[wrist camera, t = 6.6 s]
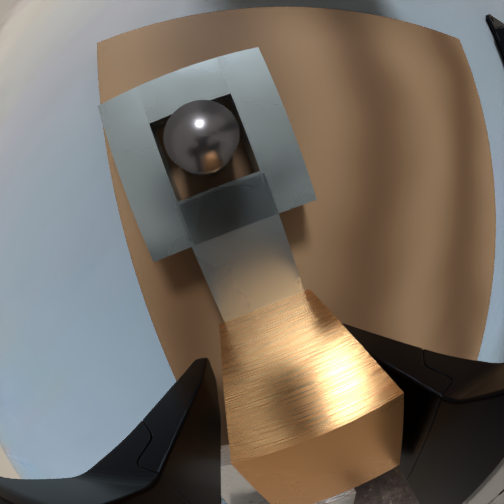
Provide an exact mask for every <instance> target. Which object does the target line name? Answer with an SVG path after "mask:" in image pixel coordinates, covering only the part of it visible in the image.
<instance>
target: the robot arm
mask: <svg viewBox="0 0 504 504" xmlns="http://www.w3.org/2000/svg"><path fill="white" fill-rule="evenodd" d="M486 18H487V20H488V23H489V25H490V27H491V29H492V31H493V33H494V35H495V38H496V40H497V42H498V45H499V47H500V49H501V52H502V55H503V57H504V24H503V23H502V22H500V21H499V20H497V19H496V18H494V17H493V16H491V15H490V14H488V15H486ZM343 326H344V327H345V328H346V329H347V330H348V331H349V332H350V333H351V334H352V335H353V337H354V338H355V339H356V340H357V341H358V342H359V343H360V344H361V345H362V346H363V348H364V349H365V350H366V351H367V352H368V353H369V354H370V355H371V356H372V358H373V359H374V360H375V361H376V362H377V363H378V364H379V365H380V366H381V368H382V369H383V370H384V371H385V372H386V373H387V374H388V375H389V377H390V378H391V379H392V380H393V381H394V382H395V383H396V384H397V386H398V387H399V388H400V389H401V390H402V391H403V392H404V415H403V434H402V447H401V457H400V465H398V467H399V469H400V471H401V472H402V474H403V476H404V477H405V479H406V480H407V483H408V485H409V486H410V488H411V490H412V491H413V493H414V495H415V496H416V498H417V500H418V502H419V503H420V504H504V363H488V362H482V361H476V360H470V359H464V358H459V357H454V356H449V355H445V354H441V353H437V352H433V351H430V350H426V349H422V348H420V347H416V346H413V345H410V344H406V343H403V342H400V341H397V340H393V339H390V338H387V337H384V336H381V335H378V334H375V333H371V332H368V331H365V330H362V329H359V328H356V327H353V326H350V325H347V324H343ZM0 504H221V416H220V407H219V399H218V391H217V383H216V378H215V375H214V372H213V369H212V367H211V364H210V361H209V359H208V358H200V359H196V360H195V361H194V362H193V363H192V364H191V365H190V366H189V368H188V369H187V370H186V371H185V372H184V373H183V375H182V376H181V377H180V378H179V379H178V380H177V381H176V383H175V384H174V385H173V386H172V387H171V388H170V390H169V391H168V392H167V393H166V394H165V395H164V396H163V398H162V399H161V400H160V401H159V402H158V403H157V404H156V405H155V407H154V408H153V409H152V410H151V411H150V412H149V413H148V415H147V416H146V417H145V418H144V419H143V421H141V422H140V423H139V424H138V426H137V427H136V428H135V429H134V430H133V431H132V432H131V433H130V434H129V435H128V436H127V437H126V438H125V439H124V440H123V441H122V442H121V443H120V444H119V445H118V446H117V447H115V448H114V449H113V450H112V451H111V452H110V453H109V454H107V455H106V456H105V457H104V458H103V459H102V460H100V461H99V462H98V463H97V464H96V465H95V466H93V467H92V468H91V469H90V470H88V471H87V472H85V473H84V474H82V475H79V476H76V477H72V478H62V479H33V480H31V479H10V478H3V477H0Z"/></svg>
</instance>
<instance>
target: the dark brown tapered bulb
mask: <svg viewBox="0 0 504 504" xmlns="http://www.w3.org/2000/svg"><path fill="white" fill-rule="evenodd" d="M354 489H355V491H356V495H355V500H354V504H420V503H419V502H418V500H417V498H416V496H415V495H414V493H413V491H412V490H411V488H410V486H409V485H408V483H407V480H406V479H405V477H404V476H403V474H402V472H401V471H400V469H399V467H398V466H396V467H395V468H393V469H391V470H389V471H387V472H385V473H383V474H382V475H380V476H378V477H376V478H374V479H372V480H370V481H368V482H366V483H363V484H361V485H359V486H357V487H355V488H354Z"/></svg>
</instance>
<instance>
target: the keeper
mask: <svg viewBox="0 0 504 504" xmlns="http://www.w3.org/2000/svg"><path fill="white" fill-rule="evenodd" d="M355 495H356V491H355V489H354V488H352V489H350V490H348V491H345V492H343V493H341V494H338V495H336V496H333V497H331V498H328V499H325V500H322V501H320V502H317V503H314V504H354V500H355ZM221 496H222V497H223V499H224V500H225V501H226V502H227V504H270V503H269V502H268V501H267V500H266V499H265V498H264V497H263V496H262V495H261V494H260V493H259V492H258V491H257V490H256V489H255V488H254V487H253V486H252V485H251V484H250V483H249V482H248V481H247V480H246V479H245V478H244V477H243V476H242V475H241V474H240V473H239V472H238V471H237V470H236V469H235V467H234V466H233V465H232V464H231V458H230V449H229V445H222V446H221Z"/></svg>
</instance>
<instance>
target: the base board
mask: <svg viewBox="0 0 504 504" xmlns="http://www.w3.org/2000/svg"><path fill="white" fill-rule="evenodd" d="M256 47H258V48H259V50H260V52H261V54H262V56H263V58H264V61H265V63H266V65H267V67H268V70H269V72H270V74H271V77H272V79H273V81H274V84H275V86H276V88H277V91H278V93H279V96H280V98H281V101H282V103H283V106H284V108H285V111H286V113H287V116H288V118H289V121H290V124H291V126H292V129H293V132H294V134H295V137H296V140H297V142H298V145H299V148H300V151H301V153H302V156H303V159H304V162H305V165H306V168H307V171H308V174H309V177H310V180H311V183H312V186H313V189H314V192H315V195H316V198H317V200H315V201H312V202H309V203H306V204H303V205H301V206H298V207H295V208H292V209H290V210H287V211H284V212H282V213H279V216H280V219H281V222H282V225H283V228H284V230H285V233H286V236H287V239H288V242H289V245H290V249H291V252H292V255H293V258H294V261H295V264H296V267H297V270H298V273H299V276H300V279H301V283H302V286H303V289H304V291H305V290H308V289H310V290H311V291H312V292H313V293H314V294H315V295H316V296H317V297H318V298H319V299H320V300H321V302H322V303H323V304H324V305H325V306H326V307H327V308H328V309H329V310H330V311H331V312H332V314H333V315H334V316H335V317H336V318H337V319H338V320H339V321H340V322H341V323H342V324H347V325H350V326H353V327H356V328H359V329H362V330H365V331H368V332H371V333H375V334H378V335H381V336H384V337H387V338H390V339H393V340H397V341H400V342H403V343H406V344H410V345H413V346H416V347H420V348H422V349H426V350H430V351H433V352H437V353H441V354H445V355H449V356H454V357H459V358H464V359H470V360H476V361H477V358H478V355H479V351H480V347H481V343H482V339H483V334H484V330H485V325H486V320H487V315H488V309H489V303H490V296H491V289H492V281H493V271H494V259H495V238H496V211H495V190H494V178H493V168H492V160H491V153H490V146H489V140H488V134H487V129H486V124H485V120H484V115H483V111H482V107H481V103H480V99H479V95H478V92H477V88H476V85H475V82H474V78H473V75H472V72H471V69H470V66H469V63H468V61H467V58H466V55H465V53H464V50H463V48H462V45H461V43H460V40H459V39H457V38H455V37H452V36H449V35H447V34H444V33H441V32H438V31H435V30H432V29H429V28H426V27H422V26H419V25H416V24H412V23H408V22H404V21H400V20H396V19H392V18H387V17H383V16H378V15H372V14H367V13H360V12H354V11H346V10H338V9H327V8H313V7H256V8H242V9H232V10H223V11H216V12H209V13H202V14H197V15H191V16H186V17H181V18H177V19H172V20H168V21H164V22H160V23H156V24H152V25H149V26H145V27H142V28H138V29H135V30H132V31H129V32H126V33H123V34H120V35H117V36H114V37H112V38H109V39H106V40H104V41H101V42H99V43H97V59H98V78H99V92H100V102H101V104H103V103H104V102H106V101H108V100H110V99H112V98H114V97H116V96H118V95H120V94H122V93H124V92H126V91H129V90H131V89H133V88H135V87H137V86H139V85H142V84H144V83H146V82H149V81H151V80H153V79H156V78H158V77H161V76H163V75H166V74H169V73H171V72H174V71H177V70H179V69H182V68H185V67H188V66H191V65H194V64H197V63H200V62H203V61H206V60H210V59H213V58H216V57H220V56H223V55H227V54H231V53H235V52H239V51H243V50H247V49H252V48H256ZM225 107H226V108H227V109H229V110H230V111H231V109H230V106H229V104H228V105H225ZM231 113H232V112H231ZM103 128H104V126H103ZM164 129H165V128H163V129H161V130H158V131H157V133H158V136H159V139H160V142H161V145H162V147H163V150H164V153H165V156H166V159H167V161H168V164H169V167H170V170H171V172H172V175H173V178H174V180H175V183H176V186H177V188H178V191H179V194H180V196H181V199H182V200H184V199H187V198H189V197H192V196H194V195H197V194H199V193H202V192H204V191H207V190H209V189H212V188H215V187H217V186H220V185H222V184H225V183H228V182H231V181H233V180H236V179H239V178H242V177H244V176H247V175H250V174H253V173H254V170H253V168H252V165H251V162H250V159H249V157H248V154H247V151H246V149H245V146H244V143H243V141H242V138H241V135H240V133H239V143H238V146H237V148H236V151H235V152H234V154H233V156H232V158H231V159H230V161H229V163H228V164H227V166H226V167H225V168H224V169H223V170H222V171H221V172H220V173H218V174H216V175H214V176H211V177H198V176H195V175H193V174H191V173H189V172H188V171H186V170H184V169H183V168H181V167H180V166H178V165H177V164H175V163H174V162H173V161H172V160H171V158H170V157H169V155H168V154H167V152H166V149H165V146H164V140H163V135H164ZM104 135H105V142H106V149H107V155H108V161H109V166H110V172H111V177H112V182H113V187H114V192H115V196H116V201H117V205H118V209H119V214H120V218H121V222H122V226H123V230H124V234H125V237H126V241H127V245H128V248H129V252H130V255H131V259H132V262H133V266H134V269H135V272H136V275H137V279H138V282H139V285H140V288H141V291H142V294H143V297H144V300H145V303H146V306H147V308H148V311H149V314H150V317H151V320H152V322H153V325H154V328H155V330H156V333H157V335H158V338H159V341H160V343H161V346H162V348H163V350H164V353H165V355H166V358H167V360H168V362H169V365H170V367H171V369H172V372H173V374H174V376H175V378H176V381H177V380H178V379H179V378H180V377H181V376H182V375H183V373H184V372H185V371H186V370H187V369H188V368H189V366H190V365H191V364H192V363H193V362H194V361H195V360H196V359H200V358H208V359H209V361H210V364H211V367H212V369H213V372H214V375H215V378H216V383H217V391H218V399H219V407H220V416H221V446H222V445H229V440H228V430H227V420H226V409H225V398H224V386H223V374H222V360H221V346H220V331H219V324H221V323H223V322H224V319H223V317H222V315H221V313H220V311H219V308H218V306H217V304H216V302H215V300H214V297H213V295H212V293H211V291H210V288H209V286H208V284H207V281H206V279H205V277H204V274H203V272H202V270H201V267H200V265H199V263H198V260H197V258H196V256H195V253H194V251H193V248H192V247H190V248H188V249H185V250H183V251H180V252H178V253H175V254H173V255H170V256H168V257H165V258H163V259H160V260H158V261H155V262H153V260H152V257H151V255H150V253H149V250H148V248H147V246H146V243H145V241H144V239H143V236H142V234H141V231H140V229H139V227H138V224H137V222H136V219H135V216H134V214H133V211H132V209H131V206H130V204H129V201H128V198H127V196H126V193H125V190H124V187H123V185H122V182H121V179H120V176H119V173H118V170H117V167H116V164H115V161H114V158H113V155H112V152H111V149H110V146H109V143H108V139H107V136H106V133H105V129H104Z"/></svg>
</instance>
